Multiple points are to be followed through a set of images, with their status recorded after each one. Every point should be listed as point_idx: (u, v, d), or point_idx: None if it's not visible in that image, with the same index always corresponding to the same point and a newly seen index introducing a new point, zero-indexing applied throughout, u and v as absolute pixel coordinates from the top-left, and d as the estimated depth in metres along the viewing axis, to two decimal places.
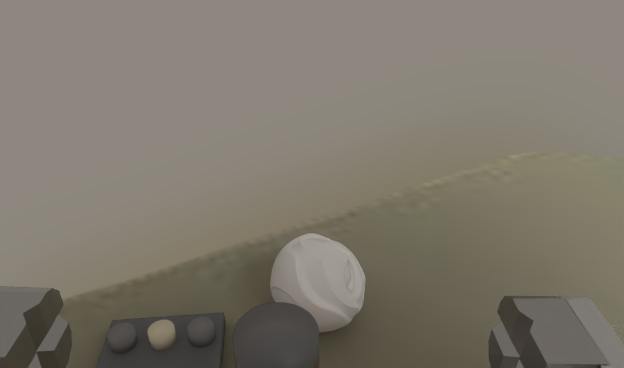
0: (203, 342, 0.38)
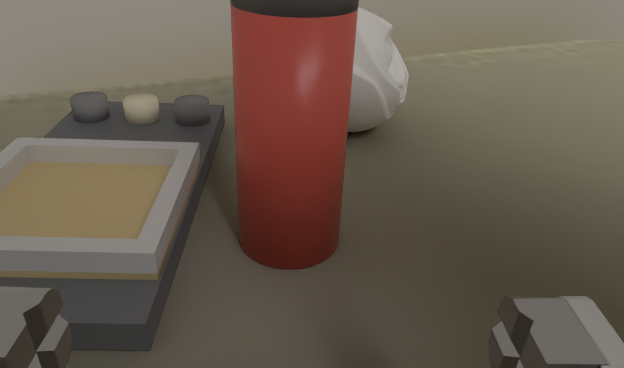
0: (193, 118, 0.29)
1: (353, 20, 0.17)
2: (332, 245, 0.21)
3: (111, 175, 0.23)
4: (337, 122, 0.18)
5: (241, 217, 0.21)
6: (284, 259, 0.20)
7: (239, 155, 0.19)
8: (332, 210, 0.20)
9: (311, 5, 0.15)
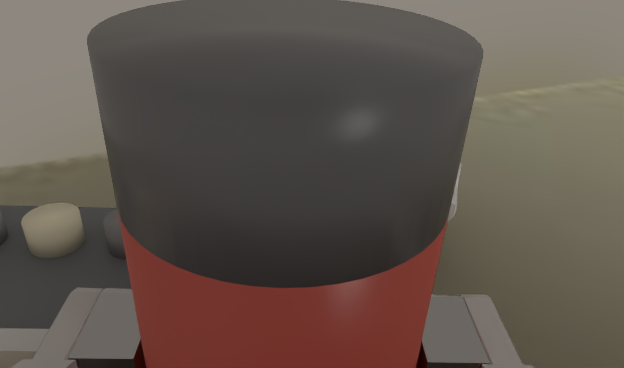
0: None
1: (442, 239, 0.06)
2: None
3: None
4: None
5: None
6: None
7: None
8: None
9: (336, 255, 0.05)
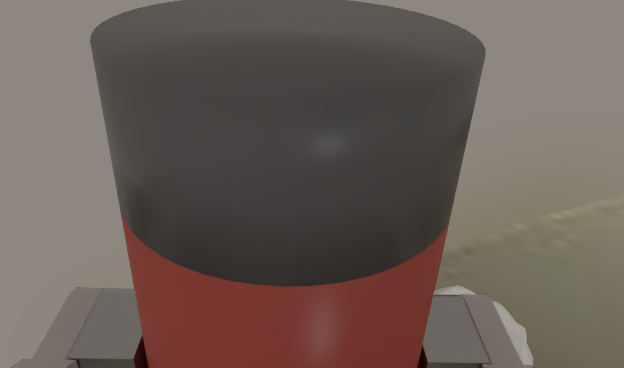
0: None
1: (444, 238, 0.06)
2: None
3: None
4: None
5: None
6: None
7: None
8: None
9: (339, 254, 0.05)
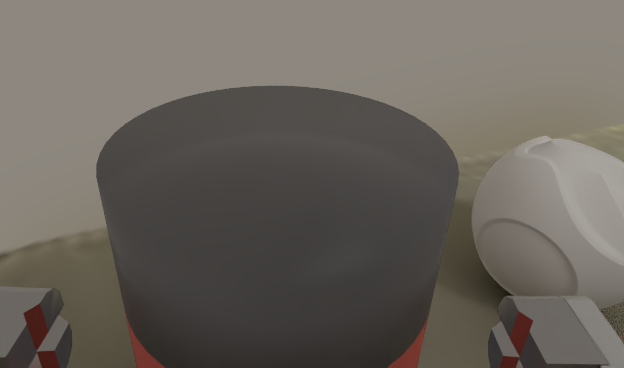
0: None
1: (424, 332, 0.07)
2: None
3: None
4: None
5: None
6: None
7: None
8: None
9: None
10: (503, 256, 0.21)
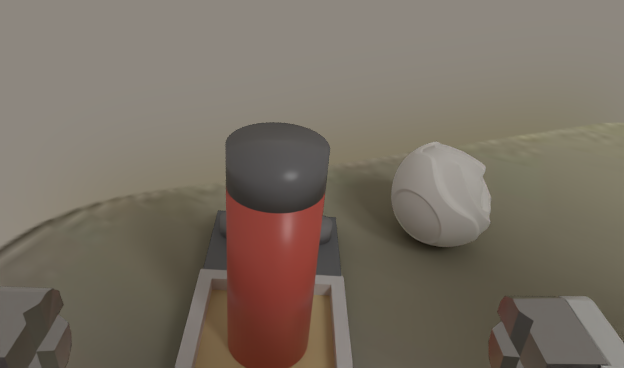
0: (321, 238, 0.35)
1: (320, 204, 0.22)
2: (302, 351, 0.26)
3: None
4: (307, 271, 0.23)
5: (229, 329, 0.26)
6: (263, 366, 0.25)
7: (229, 288, 0.24)
8: (302, 329, 0.25)
9: (287, 205, 0.20)
10: (404, 211, 0.36)
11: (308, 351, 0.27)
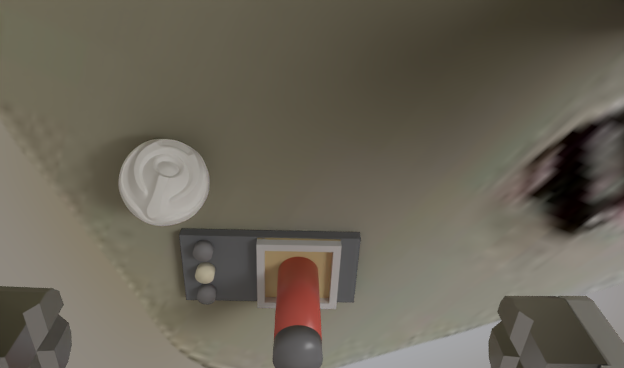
0: (212, 248, 0.53)
1: (308, 324, 0.45)
2: (309, 262, 0.53)
3: (275, 267, 0.54)
4: (312, 300, 0.48)
5: None
6: (318, 276, 0.54)
7: None
8: (311, 274, 0.52)
9: (321, 341, 0.45)
10: None
11: (305, 256, 0.54)
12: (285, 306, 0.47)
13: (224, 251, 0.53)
